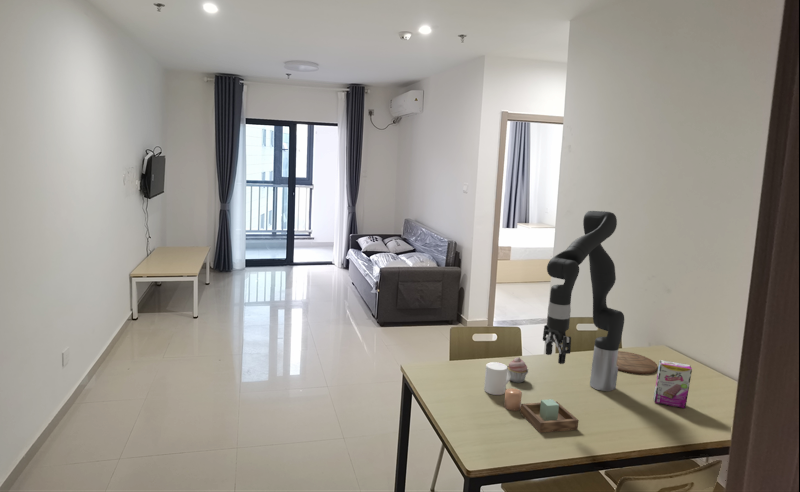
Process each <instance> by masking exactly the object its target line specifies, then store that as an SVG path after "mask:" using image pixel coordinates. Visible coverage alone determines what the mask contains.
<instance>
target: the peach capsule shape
mask: <svg viewBox="0 0 800 492" xmlns="http://www.w3.org/2000/svg"><path fill="white" fill-rule="evenodd" d="M522 397H523V392H522V391H521V390H520V389H518V388H511V387H509V388H506V389H505V393H504V404H503V407H504V409H506V410H509V411H512V412H513V411H514V412H517V411H521V404H522Z"/></svg>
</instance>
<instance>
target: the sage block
mask: <svg viewBox="0 0 800 492" xmlns="http://www.w3.org/2000/svg"><path fill="white" fill-rule="evenodd" d="M540 403H541V406H540V415H539V416H540V417H541V418H542V419H543V420H544V421H551V420H557V419H558V410H559V404H560V403H559V404H557V403H556V401H555V400H554V399H553V398H552V399H541V400H540Z"/></svg>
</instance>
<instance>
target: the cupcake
mask: <svg viewBox="0 0 800 492" xmlns="http://www.w3.org/2000/svg"><path fill="white" fill-rule="evenodd" d="M506 366H507V370H508V371H509V373H510V376H511V377H510V380H509V382H510V381H511V382H513V383H515V384H516V383H517V384H518V383H520V384H521V383H523V382H524V381H525V379H526V376H527V374H528V373H529V369H528V366H527V364H526V362H525V361H524V360H522V358H520V357H519V356H518V357H515V358H513V360H511V361H510V362H509V363H508V365H506Z"/></svg>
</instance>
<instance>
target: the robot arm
mask: <svg viewBox="0 0 800 492" xmlns="http://www.w3.org/2000/svg"><path fill="white" fill-rule="evenodd" d="M582 222H583V225H582V226H583V231H584V235H582V236H580V237H578V238H576V239H575V240H573V241H572V242H571V243H570V244H569V246H567V248H566V249H565V250H563V251H560V252H559V253H557V254H556V255H554V256H553V257H551V259H550V260H549V261H548V262H547V266H546V272H547V274H548V275H549V276H550V277H552V278H554V279H559V280H564V282H563V284H554V285H552V286H551V288H550V293H549V294H550V295H549V302H548V308H547V320H546V324H544V326H543V327H544V328H543V334H542V341H543V342H544V344H545V355H547V356H549V355H550V356H551V355H552V353H553V345H554V344H555V346H556V348H557V349H558V358H557V359H558V361H557V362H558V364H559V365H564V364H565V363H566V358H567V357H566V356H567V355H568V354H569V355H570V354H571V351H572V350H571V348H572V347H571V346H572V337H571V336H567V335H566V332H567V331H568V330H569V329H570V322H571V321H570V320H571V308H572V307H571V304H572V303H571V302H572V301H571V300H572V294H573V293H572V292H573V290H574V286H575V285H576V284H575V283H576V281H577V279H578V277H579V273H580V267H579V266H581V264H582V263H583V261H585V260H586V258H587V257H588V261H589V263H588V264H589V273H590V281H591V291H592V322H593V325H594V326H595V328H597V329H599V330H603V331H604V332H605V331H606V332H607V333H606V334H607V335H606V336H598V337H596V338H595V339H594V347H593V356H592V363H591V369H590V371H591V372H590V377H589V378H590V381H589V386H590V387H591V388H593V389H595V390H598V391H601V392H611V391H613V390H616V388H617V380H618V373H619V371H618V366H616V365H617V357H618V351H619V348H620V344H621V341H622V336H623V331H624V325H625V315H624V313H623V312H622V311H621V310H618V309H614V308H611V307H608V305H607V296H608V294H609V293H610V291H611V290H612V289H613V287H614V286H615V283H616V280H617V278H616V267H615V263H614V261H613V259H612V257H611V256H610V255H609V253H608V252H607V250H605V248H604V247H603V246H602V243H603V242H605V241H606V240H607V239H608V238H610V237H611V236H612V235H613V234H614V233H615V231H616V229H617V226H618V219H617V216H616V214H615V212H614V213H613V212H611V211H605V210H604V211H603V210H601V211H599V210H588V211H586V212H585V214H584V216H583V221H582Z"/></svg>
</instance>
